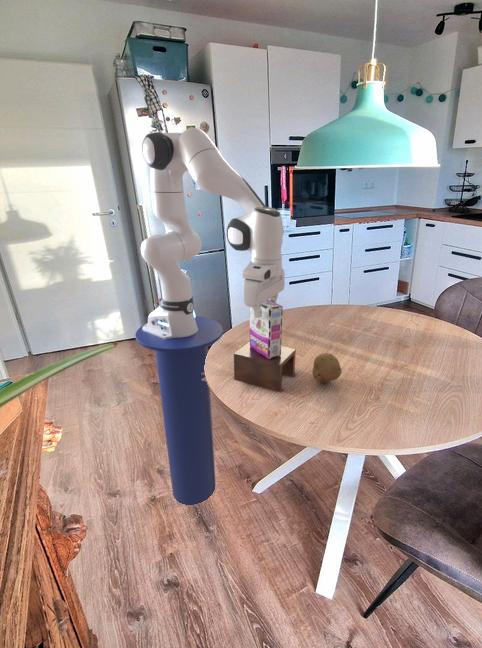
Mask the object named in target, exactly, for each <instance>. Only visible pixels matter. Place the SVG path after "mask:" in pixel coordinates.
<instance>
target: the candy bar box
mask: <svg viewBox="0 0 482 648" xmlns="http://www.w3.org/2000/svg"><path fill="white" fill-rule="evenodd" d="M260 311H262V316H261V317H260V318H255V317H254V310H253V308H252V307H249V342H250V347H251V348H252V349H254V350H255V351H257V352H258V353H260V354H262V355H263V356H265V357H266V358H268V359H272V358H275V357H279V356H281V346H282V338H283V337H282V336H283V335H282V333H283V305H281V304H278V303H277V302H276V303H274V302H272V301H270V299H268V300H267V301H265V302H264V303H262V304H261V307H260Z"/></svg>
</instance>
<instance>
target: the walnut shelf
mask: <svg viewBox="0 0 482 648" xmlns="http://www.w3.org/2000/svg"><path fill="white" fill-rule="evenodd" d="M296 350H297V349H296V348H291V347H288V346H284V345H283V346H282V345H281V356H279V357H275V358H272V359H268V358H266V357H265V356H263V355H262V354H260V353H258V352H257V351H255V350H254V349H252V348H251V347H250V341H248V342H247V343H246V344H245V345H243V346H241V348H239V349H238V350H237V351H235V352H234V353H233V375H234V377H233V379H234V381H238V382H242V383H244V384H248V385H253V386H256V387H260V388H264V389H268V390H271V391H274V392H279V393H280V392H281V391H282V390H283V389H282V388H283V375H284V376H288V377H294V376H295V372H296Z"/></svg>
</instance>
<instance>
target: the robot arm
mask: <svg viewBox="0 0 482 648" xmlns="http://www.w3.org/2000/svg"><path fill="white" fill-rule="evenodd" d="M141 153H142V157H143V159H144V161H145V163H146V164H147V166H149V167H150V170H149V171H150V172H149V183H150V185H149V186H150V195H151V205H152V212H153V215H154V218H156V219H157V220H159V221H161V223H162V224H163V225H164V228H165V232H164V233H156V234H153V235H151V236H149V237H147V238H146V239H145V238H144V240H143V241H142V242H141V245H140V254H141V257H142V259H143V260H144V262H145V263H147V264H148V265H149V266H151V267H152V268H153V269H154V270H155V272H156V275H157V277H158V278H159V282H160V288H161V297H160V298H158V299H157V303H159V306H158V307H156V308H155V309H154V310H152V311H151V312H150V313H149V315H148V317H147V324H146V323H145V324H146V325H145V324H143V325H144V326H143V325H142V326H143V328H142V330H143V331H145V332H148V333H150V334H153V335H155V336H158V337H161V338H163V339H171V338H181V337H187V336H191V335H193V334H195V333H197V332H198V327H197V324H196V321H195V316H196V313H195V310H194V296H192V294H193V293H192V282H191V281H192V280H191V278H190V276H189V275H188V274H187V273H185V272H183V270H182V268H181V264H180V263H181V262H183V261H184V262H185V261H187V260H191V259H193V258H194V257H196V256H197V255H199V254H200V253H201V252H202V247H203V243H202V239H201V237H200V236H199V234H198V233H197V232H195V231H194V229H193V228H192V226H191V225H190V221H189V220H188V219H189V218H188V216H187V215H188V214H187V211H186V209H187V208H186V201H185V189H184V188H185V187H184V182H183V181H184V180H183V178H184V174H185V173H186V172H188V173H189V175H190V177H191V178H192V180H193V182H194V183H195V184H196V185H197V187H199V188H200V189H201V190H202V191H204V192H206V193H208V194H213V195H217V196H221V197H224V198H227V199H231V200H233V201H235V202H236V203H237V204H238V205H240V207H241V208H242V209H243V211H244V213H246V214H244V215H241V216H237V217H233V218H232V219H230V221H229V222H228V224H227V226H226V240H227V243H228V244H229V246H230V247H231V248H232V249H234V250H235V251H239V252H247V251H249V252H250V261H249V262H248V264H247V265H246V267H245V268H244V269H243V270H242V273H241V274H242V278H243V279H244V280H243V286H242V288H243V290H242V291H243V303H244V305H245V306H246V307H249V308H250V307H252V308H253V310H254V317H255V318H260V317H261V316H262V311H260V307H261V304H262V303H264V302H265V301H267V300H270V301H272V302H274V303H277V300H278V297H279V294H280V293H281V292H282V291H284V289H285V287H286V286H285V285H286V284H285V283H286V282H285V278H286V277H285V269H284V268H283V254H282V245H283V240H284V224H283V217H282V214H281V212H280V211H279V210H278V209H276V208H274V207H269V206H266V205H265V203H264V202H263V201H262V199H261V198H260V197H259V196H258V194H257V193H256V191H255V190H254V188H253V187H252V186H251V185H250V184H249V182H248V181H247V180H246V178H244V177H243V176H242V175H241V174H239V173H238V172H237V171H236V170H235V169H233V167H232V166H230V164H229V162H227V161H226V159H225V158H224V157H223V156H222V154H221V152H220V150H219V149H218V147H217V146H216V144H215V142H213V141H212V139H211V138H210V137H209V136H208V134H206V133H205V132H204V131H203V130H202V129H200V128H198V127H189V128H186V129H185V130H183V131H182V132H158V131H156V132H150V133H148V134H145V136H144V138H143V140H142V143H141Z"/></svg>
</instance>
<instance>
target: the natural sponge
mask: <svg viewBox="0 0 482 648" xmlns="http://www.w3.org/2000/svg"><path fill="white" fill-rule="evenodd" d="M342 372H343V371H342V367H341V364H340V362H339V360H338V358H337V357H336V356H335V355H334V354H332V353H329V352H328V353H327V352H323V353H320V354H318V355H317V356H316V357H315V359H314V361H313V368H312V372H311V374H312V378H313V379H314V381H315V380H316V381H318V382H320V383H329V382H332V381H335V380H337V379H339V378H340V376H341V375H342Z"/></svg>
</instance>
